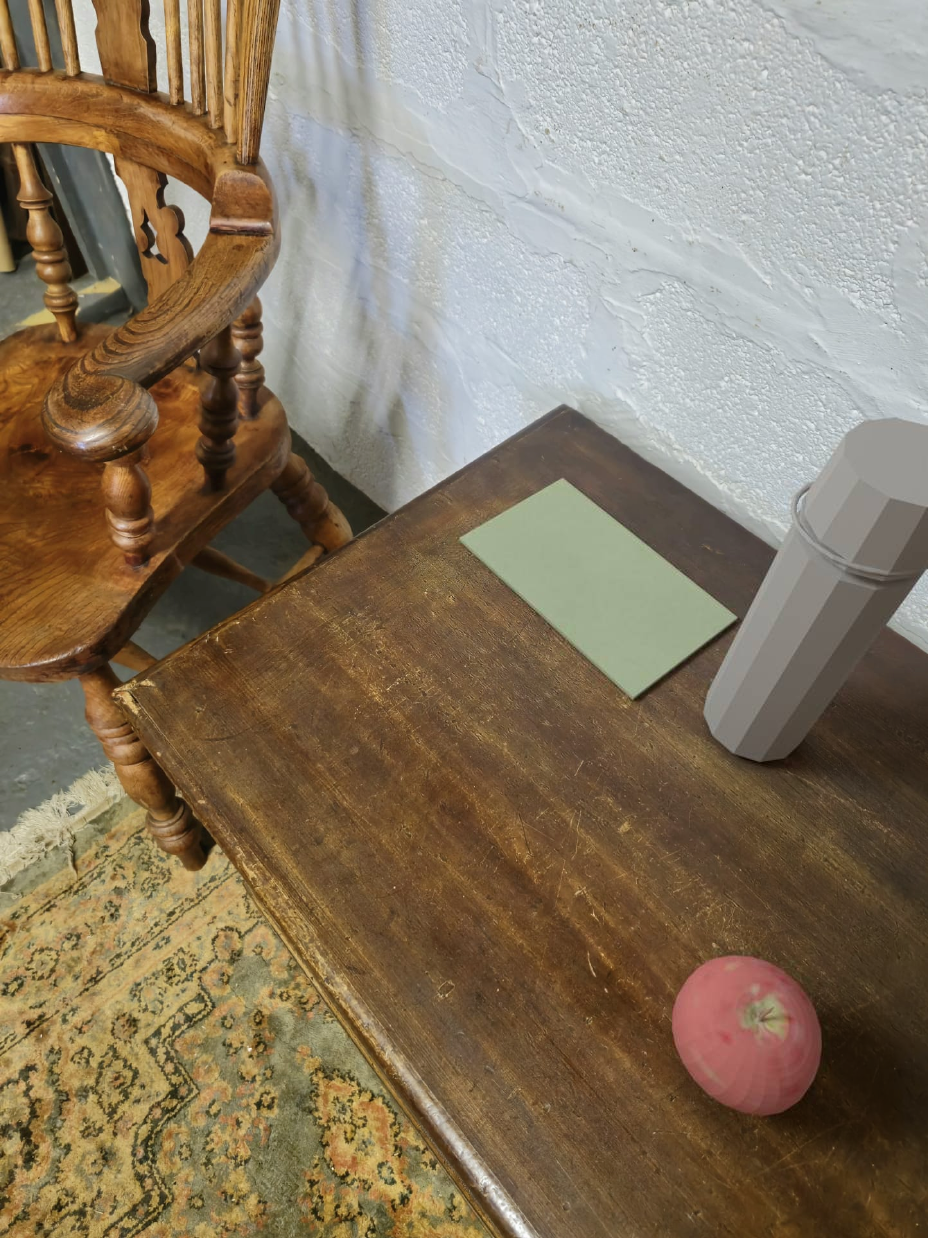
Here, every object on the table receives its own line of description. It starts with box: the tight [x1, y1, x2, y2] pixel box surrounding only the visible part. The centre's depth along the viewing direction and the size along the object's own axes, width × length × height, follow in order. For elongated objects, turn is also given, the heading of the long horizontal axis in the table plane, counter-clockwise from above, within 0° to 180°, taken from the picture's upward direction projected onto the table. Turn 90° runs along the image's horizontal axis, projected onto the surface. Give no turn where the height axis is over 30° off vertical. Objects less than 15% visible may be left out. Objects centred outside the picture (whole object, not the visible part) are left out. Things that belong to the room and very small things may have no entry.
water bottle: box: [702, 417, 928, 763], centre depth 52 cm, size 9×8×25 cm
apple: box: [671, 954, 823, 1117], centre depth 45 cm, size 7×7×8 cm
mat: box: [458, 477, 739, 701], centre depth 69 cm, size 20×12×1 cm, turn 40°
